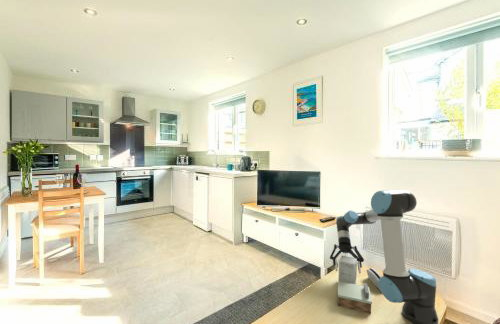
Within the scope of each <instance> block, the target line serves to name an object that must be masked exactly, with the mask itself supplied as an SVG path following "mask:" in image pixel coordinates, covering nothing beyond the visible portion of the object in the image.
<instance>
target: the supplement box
mask: <svg viewBox="0 0 500 324" xmlns="http://www.w3.org/2000/svg"><path fill="white" fill-rule="evenodd" d="M338 261H339V262H338V278H337V279H338V281H340V282H345V283H350V284H356V285H357V276H358V275H357V273H358V272H357V271H358V264H357V262H358V261H357V259H355V258H354V257H350V256H347V255H341V256H340V259H339V260H338ZM338 281H337V282H338Z"/></svg>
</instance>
